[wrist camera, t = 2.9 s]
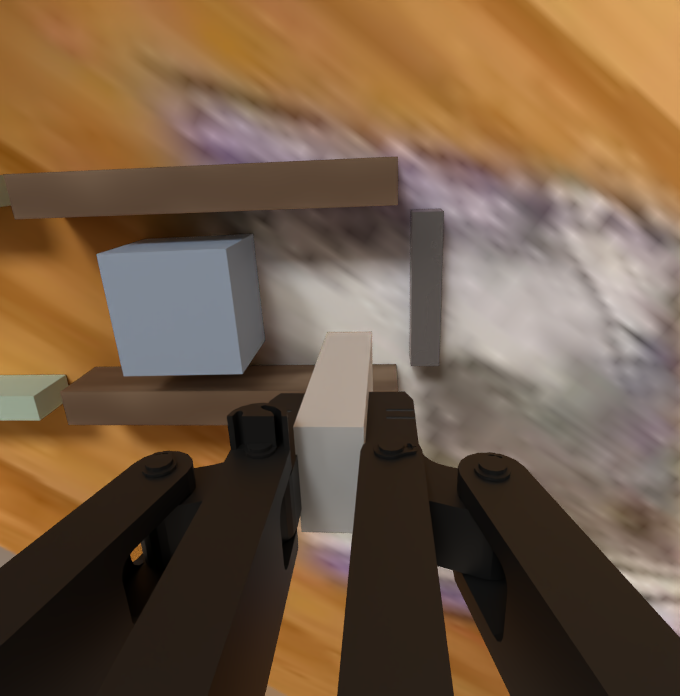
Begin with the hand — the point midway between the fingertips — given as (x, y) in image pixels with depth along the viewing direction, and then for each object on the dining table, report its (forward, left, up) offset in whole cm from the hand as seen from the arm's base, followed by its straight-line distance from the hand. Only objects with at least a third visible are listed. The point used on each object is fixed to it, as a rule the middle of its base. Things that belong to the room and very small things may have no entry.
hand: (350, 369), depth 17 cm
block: (0, -9, -11) cm, 14 cm away
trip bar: (0, +3, -11) cm, 11 cm away
